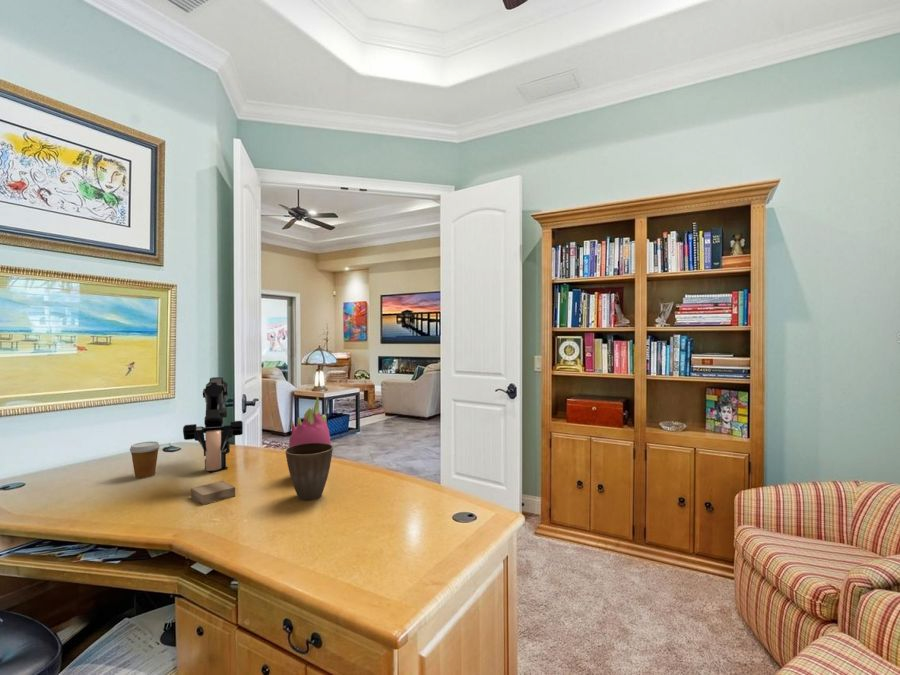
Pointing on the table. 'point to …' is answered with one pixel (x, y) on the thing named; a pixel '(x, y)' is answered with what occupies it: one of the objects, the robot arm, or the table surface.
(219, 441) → the pillar
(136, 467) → the disposable coffee cup
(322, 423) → the pink dragon fruit
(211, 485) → the base
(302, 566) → the table surface
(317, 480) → the plant pot
